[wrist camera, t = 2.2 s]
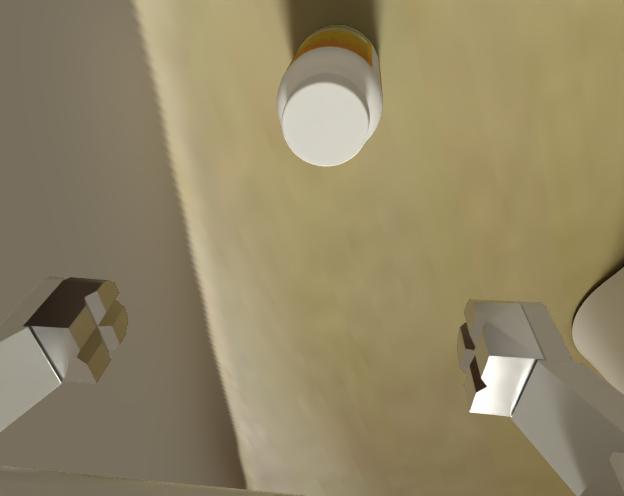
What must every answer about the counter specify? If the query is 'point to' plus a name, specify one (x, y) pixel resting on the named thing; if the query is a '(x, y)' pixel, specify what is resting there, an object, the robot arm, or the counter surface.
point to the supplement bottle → (331, 96)
